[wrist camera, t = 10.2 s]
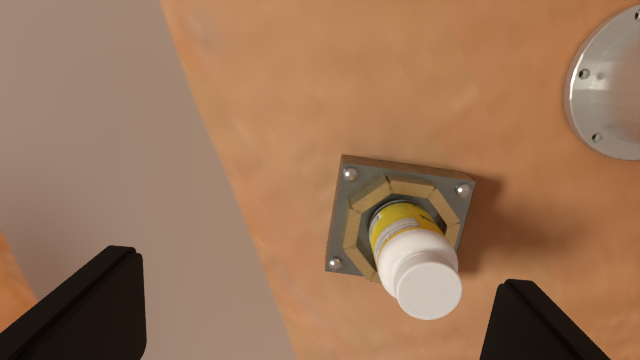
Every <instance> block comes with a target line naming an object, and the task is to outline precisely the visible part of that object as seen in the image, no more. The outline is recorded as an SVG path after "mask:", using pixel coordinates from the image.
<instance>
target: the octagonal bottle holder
mask: <svg viewBox="0 0 640 360" xmlns="http://www.w3.org/2000/svg"><path fill="white" fill-rule="evenodd" d="M475 183H476V181H475V180H473V179H472V178H471V177H469V176H468V175H467V174H465V173H464V172H460V171H453V170H446V169H439V168H432V167H425V166H418V165H411V164H404V163H397V162H390V161H383V160H376V159H369V158H362V157H355V156H348V155H341V162H340V168H339V174H338V180H337V186H336V193H335V199H334V205H333V211H332V218H331V224H330V230H329V236H328V242H327V249H326V255H325V271H329V272H336V273H343V274H350V275H358V276H365V278H366V279H367V280H368V279H370V282H377V283H382V282H381V280H380V277H379V274H378V270H377V266H376V262H375V258H374V255H373V251H372V247H371V243H370V239H369V233H368V228H369V223H370V220H371V218H372V216H373V214H374V213H375V212H376V211H377V210H378V209H379V208H380V207H381V206H383V205H384V204H386V203H388V202H391V201H395V200H409V201H412V202H415V203H417V204H419V205H420V206H422V207H423V208H424V209H425V210H426V211H427V212H428V214H429V215H430V216H431V218H432V219H433V221H434V222H435V223H436V224H437V226H438V227H439V229H440V230H441V231H442V233H443V234H444V236H445V237H446V238H447V240H448V241H449V242H450V244H451V245H452V247H453V249H454V251H455V253H457V249H458V246H459V242H460V238H461V235H462V231H463V227H464V224H465V220H466V216H467V212H468V209H469V205H470V201H471V198H472V194H473V190H474V187H475Z"/></svg>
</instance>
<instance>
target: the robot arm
mask: <svg viewBox="0 0 640 360" xmlns="http://www.w3.org/2000/svg"><path fill="white" fill-rule="evenodd" d="M579 72H580V75H579ZM564 108H565V112H566V117H567V120H568V122H569V124H570V127H571V129H572V131H573V132H574V133H575V135H576V136H577V137H578V139H579V140H580V141H581V142H582V143H583V144H585V145H586V146H587V147H588V148H590V149H591V150H593V151H595V152H598V153H600V154H602V155H605V156H608V157H611V158H615V159H621V160H628V161H632V160H640V3H639V4H635V5H633V6H630V7H628V8H626V9H624V10H621V11H619V12H617V13H616V14H614V15H613V16H611V17H610V18H608V19H607V20H605V21H604V22H603V23H602V24H600V25H599V26H598V27H597V28H596V29H595V30H594V31H593V32H592V33H591V34H590V35H589V36H588V38H587V39H586V40H585V41H584V43H583V44H582V45H581V46H580V48H579V50H578V51H577V53H576V55H575V57H574V59H573V60H572V62H571V65H570V68H569V71H568V73H567V76H566V82H565V87H564ZM146 342H147V338H146V318H145V297H144V278H143V259H142V255H141V254H140V253H136V250H135V248H133V247H124V246H113V245H110V246H108V247H106V248H105V249H104V250H103V251H101V252H100V253H99V254H98V255H97V256H95V257H94V258H93V259H92V260H90V261H89V262H88V263H87V264H86V265H84V266H83V267H82V268H81V269H79V270H78V271H77V272H75V273H74V274H73V275H72V276H71V277H69V278H68V279H67V280H66V281H64V282H63V283H62V284H61V285H59V286H58V287H57V288H56V289H55V290H53V291H52V292H51V293H49V294H48V295H47V296H46V297H45V298H43V299H42V300H41V301H40V302H38V303H37V304H36V305H35V306H33V307H32V308H31V309H30V310H28V311H27V312H26V313H25V314H24V315H22V316H21V317H20V318H19V319H17V320H16V321H15V322H14V323H12V324H11V325H10V326H9V327H7V328H6V329H5V330H4V331H3V332H1V333H0V360H140V359H141V357H142V356H143V354H144V351H145V348H146ZM480 360H611V359H610V358H609V357H608V356H607V355H606V354H605V353H604V352H603V351H602V350H601V349H600V348H599V347H598V346H597V345H596V344H595V343H594V342H593V341H592V340H591V339H590V338H589V337H588V336H587V335H586V334H585V333H584V332H583V331H582V330H581V329H580V328H579V327H578V326H577V325H576V324H575V323H574V322H573V321H572V320H571V319H570V318H569V317H568V316H567V315H566V314H565V313H564V312H563V311H562V310H561V309H560V308H559V307H558V306H557V305H556V304H555V303H554V302H553V301H552V300H551V299H550V298H549V297H548V296H547V295H546V294H545V293H544V292H543V291H542V290H541V289H540V288H539V287H538V286H537V285H536V284H535V283H534V282H533V281H529V280H517V279H507V280H506V281H505V282H504V284H500V285H499V286H498V288H497V292H496V296H495V300H494V304H493V308H492V312H491V316H490V320H489V324H488V328H487V332H486V336H485V340H484V344H483V348H482V352H481V356H480Z"/></svg>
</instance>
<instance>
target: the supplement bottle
mask: <svg viewBox="0 0 640 360" xmlns="http://www.w3.org/2000/svg"><path fill="white" fill-rule="evenodd" d="M368 233H369V239H370V243H371V247H372V251H373V255H374V258H375V262H376V266H377V270H378V274H379V277H380V280H381V282H382V284H383V286H384V288H385V289H386V290H387V291H388V292H389V293H390V294H391V295H392V296H393V297H395V298H396V299H397V300H398V302H399V305H400V306H401V308H402V309H403V310H404V311H405V312H406V313H408V314H409V315H411V316H413V317H415V318H418V319H422V320H432V319H438V318H441V317H443V316H445V315H447V314H448V313H450V312H451V311H452V310H453V309H454V308H455V307H456V306H457V305H458V303H459V301H460V299H461V296H462V282H461V279H460V277H459V275H458V259H457V255H456V253H455V251H454V249H453V247H452V245H451V244H450V242H449V241H448V240H447V238H446V237H445V236H444V234H443V233H442V231H441V230H440V229H439V227H438V226H437V224H436V223H435V222H434V221H433V219H432V218H431V216H430V215H429V214H428V212H427V211H426V210H425V209H424V208H423V207H422V206H420V205H419V204H417V203H415V202H412V201H409V200H395V201H391V202H388V203H386V204H384V205H383V206H381V207H380V208H379V209H378V210H377V211H376V212H375V213H374V214H373V216H372V218H371V220H370V223H369V228H368Z"/></svg>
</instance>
